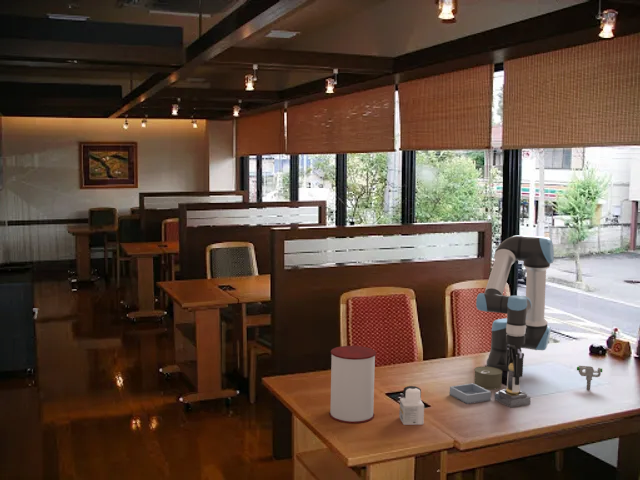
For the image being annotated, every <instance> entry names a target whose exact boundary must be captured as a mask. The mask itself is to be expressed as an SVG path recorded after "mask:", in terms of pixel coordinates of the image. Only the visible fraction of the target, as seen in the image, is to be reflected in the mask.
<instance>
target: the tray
mask: <svg viewBox="0 0 640 480" xmlns="http://www.w3.org/2000/svg"><path fill="white" fill-rule="evenodd" d="M474 383H475V382H472V383H465V384H458V385H451V386H449V396H450V397H452V398H455V399H456V400H458V401H460V402H462V403H464V404H465V405H470V404H476V403H477V404H478V403H482V402H488V401H492V391H491V390H488V389H484V388H482V387H480V386H478V385H476V384H474Z"/></svg>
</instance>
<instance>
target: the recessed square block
mask: <svg viewBox="0 0 640 480" xmlns="http://www.w3.org/2000/svg"><path fill="white" fill-rule="evenodd" d="M531 398H532V397H531V396H528V393H526V392H524V391H522V390H520V392H519V394H517V395H510V394H508V393H506V388H504V389H500V390H499V389H498V391H497V392H494V400H495V401H497V402H499V403H500V404H503V405H505V406H506V407H509V408H510V409H511V408H516V407H517V408H518V407H522V406H523V407H525V406H529V405H531Z"/></svg>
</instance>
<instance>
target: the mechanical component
mask: <svg viewBox="0 0 640 480" xmlns="http://www.w3.org/2000/svg"><path fill="white" fill-rule="evenodd" d="M576 371H578V374H579V375H580V376H581V377H585V380H586V390H587V391H591V384H592V380H593V378H594V377H595V378H599V377H600V376H601V375H602V374H601V373H603V368H601V367H598V368H597V370H595V368H594V367H593V366H592V365H591V366H588V365H578V366H577V367H576Z"/></svg>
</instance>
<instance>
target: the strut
mask: <svg viewBox="0 0 640 480" xmlns="http://www.w3.org/2000/svg"><path fill="white" fill-rule="evenodd" d="M512 376H514V367H513V362H512V363H510V364H509V377H508V387H507V386H506V388H505V389H506V393H508V394H510V395H517V394H519V392H520V391H521V390H520V388H519V392H512V382H513V377H512Z"/></svg>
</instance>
